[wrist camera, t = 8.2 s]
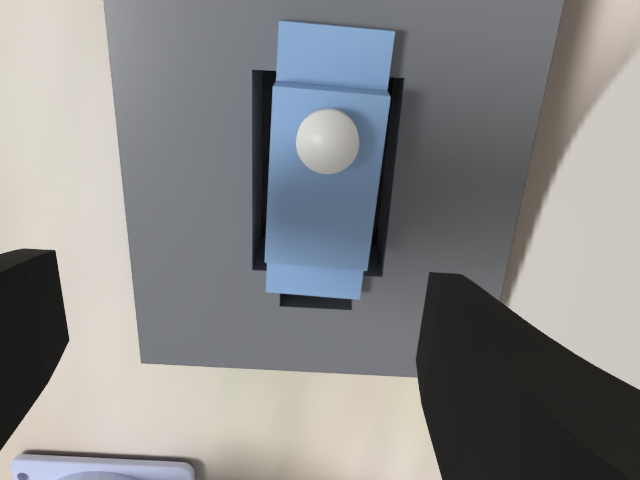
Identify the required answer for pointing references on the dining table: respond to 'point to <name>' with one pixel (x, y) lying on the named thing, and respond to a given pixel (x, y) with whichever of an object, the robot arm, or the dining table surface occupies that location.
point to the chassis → (246, 173)
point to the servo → (325, 156)
